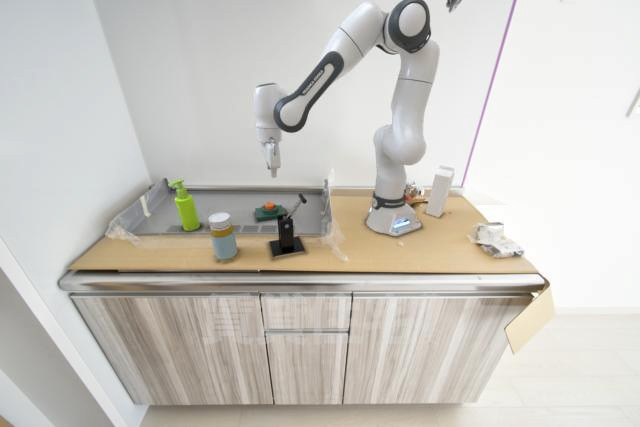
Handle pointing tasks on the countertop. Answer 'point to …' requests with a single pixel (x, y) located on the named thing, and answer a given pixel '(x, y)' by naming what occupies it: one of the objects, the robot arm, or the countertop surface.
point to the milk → (440, 191)
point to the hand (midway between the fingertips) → (271, 172)
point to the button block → (268, 213)
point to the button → (269, 206)
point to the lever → (296, 206)
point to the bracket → (285, 238)
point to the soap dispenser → (185, 207)
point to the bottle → (223, 236)
